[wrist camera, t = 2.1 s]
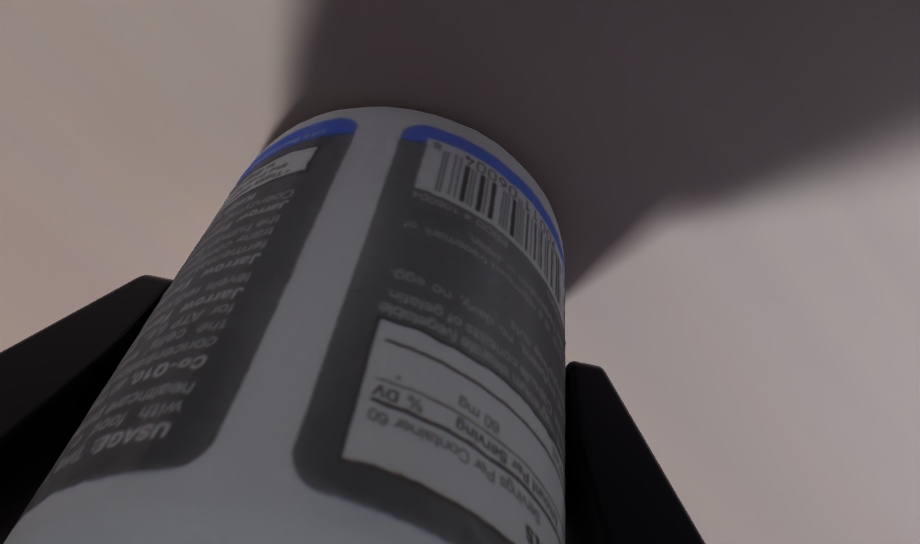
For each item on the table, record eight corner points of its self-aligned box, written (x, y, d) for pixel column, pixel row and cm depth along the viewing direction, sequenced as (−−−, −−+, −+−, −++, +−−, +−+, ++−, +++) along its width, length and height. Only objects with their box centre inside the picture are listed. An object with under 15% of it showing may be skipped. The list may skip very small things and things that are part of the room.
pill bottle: (274, 360, 13) (-48, 1090, 6) (203, 94, 10) (-536, 925, 3) (562, 374, 12) (549, 1197, 6) (576, 97, 9) (583, 1109, 3)
